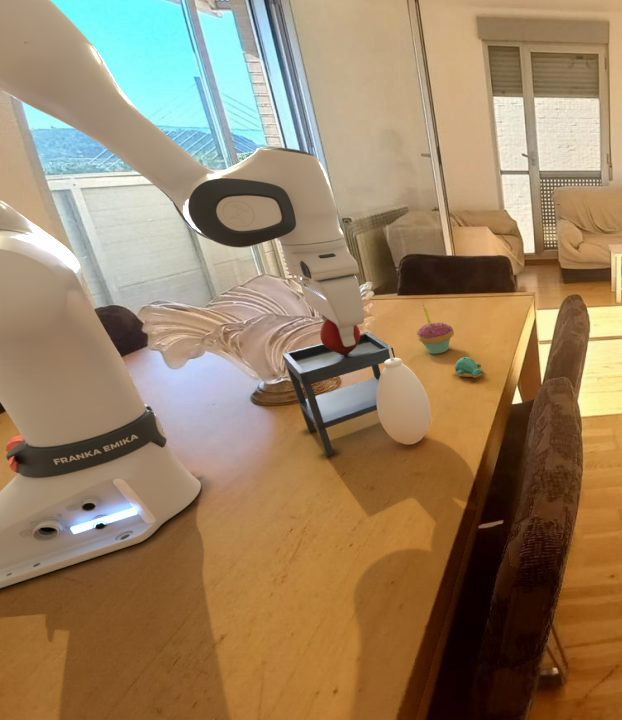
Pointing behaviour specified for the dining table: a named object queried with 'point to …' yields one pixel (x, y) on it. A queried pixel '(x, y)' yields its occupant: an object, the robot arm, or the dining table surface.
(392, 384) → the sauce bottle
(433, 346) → the cupcake
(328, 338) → the onion
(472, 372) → the teal animal figurine
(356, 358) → the rack
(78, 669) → the dining table surface
